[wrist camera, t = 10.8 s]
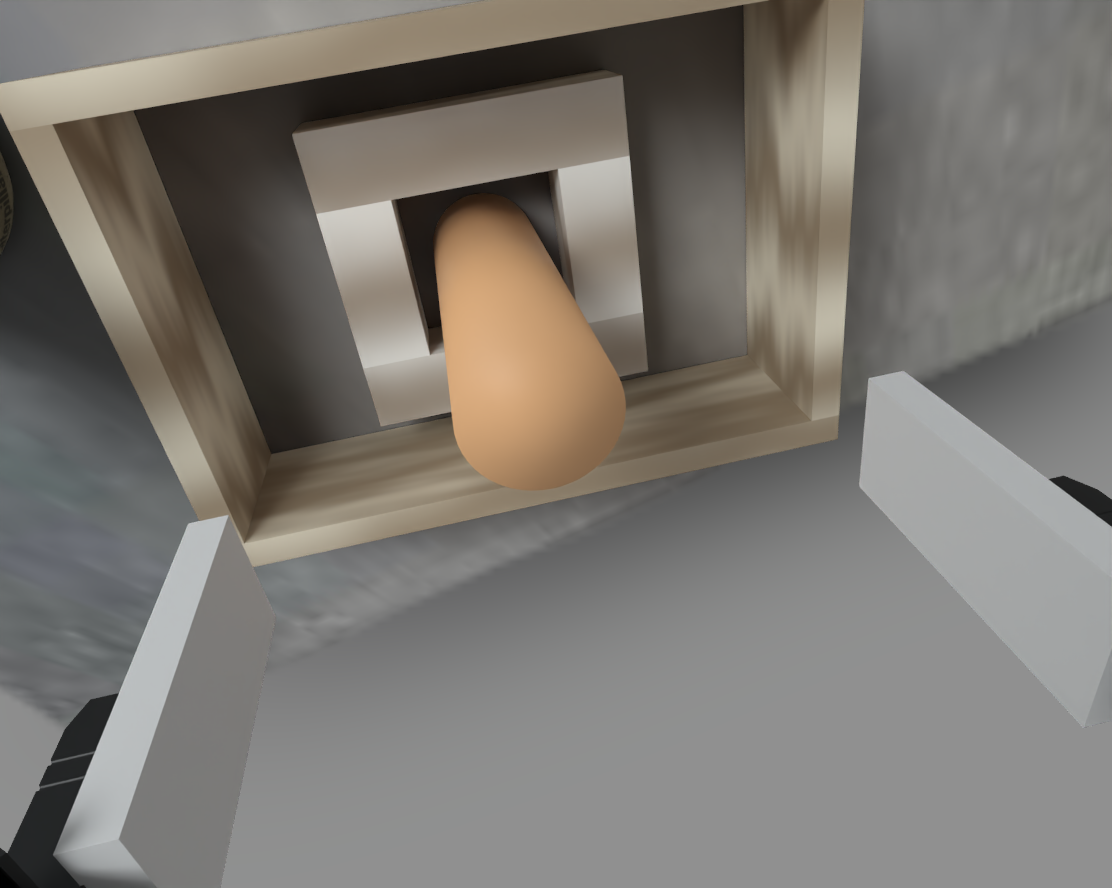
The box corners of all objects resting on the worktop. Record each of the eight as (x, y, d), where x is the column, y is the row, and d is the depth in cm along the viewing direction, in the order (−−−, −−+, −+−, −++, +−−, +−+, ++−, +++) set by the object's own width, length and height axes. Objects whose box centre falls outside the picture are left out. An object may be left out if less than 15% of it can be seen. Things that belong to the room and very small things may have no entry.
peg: (422, 203, 31) (435, 354, 18) (526, 184, 32) (617, 319, 18) (445, 302, 34) (471, 505, 20) (541, 284, 34) (632, 471, 20)
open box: (79, 68, 27) (-13, 86, 21) (772, -48, 29) (868, -63, 23) (254, 480, 36) (225, 573, 30) (770, 371, 38) (837, 439, 32)
